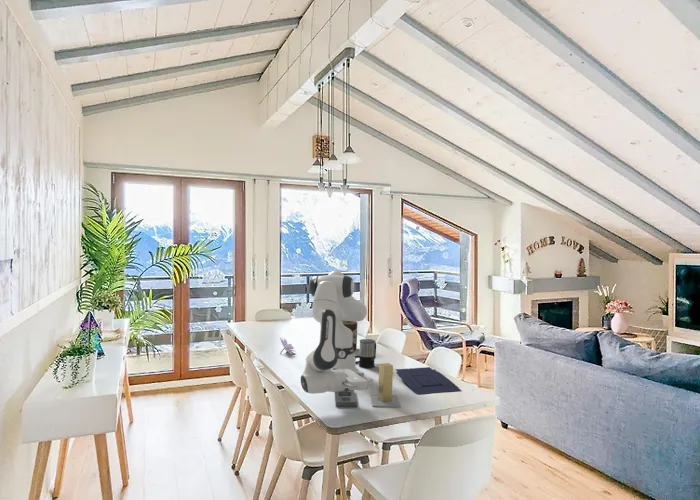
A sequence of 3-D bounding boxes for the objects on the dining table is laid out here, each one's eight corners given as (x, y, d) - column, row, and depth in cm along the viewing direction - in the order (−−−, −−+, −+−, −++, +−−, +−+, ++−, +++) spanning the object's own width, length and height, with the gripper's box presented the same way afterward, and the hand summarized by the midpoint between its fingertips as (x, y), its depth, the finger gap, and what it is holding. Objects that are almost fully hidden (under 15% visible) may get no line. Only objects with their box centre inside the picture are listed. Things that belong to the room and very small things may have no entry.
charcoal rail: (334, 391, 218) (334, 387, 218) (353, 391, 219) (353, 387, 219) (335, 406, 198) (335, 402, 198) (356, 407, 199) (356, 402, 199)
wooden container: (356, 352, 298) (357, 318, 298) (333, 351, 298) (334, 317, 298) (356, 347, 313) (357, 314, 312) (334, 346, 313) (335, 314, 313)
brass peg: (378, 399, 208) (379, 363, 208) (387, 398, 210) (388, 362, 209) (382, 402, 204) (383, 366, 204) (391, 401, 206) (392, 365, 205)
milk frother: (373, 369, 260) (374, 342, 259) (345, 366, 263) (346, 340, 263) (377, 362, 273) (377, 337, 273) (351, 360, 277) (351, 335, 277)
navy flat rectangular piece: (432, 371, 254) (432, 365, 253) (461, 395, 225) (462, 388, 225) (391, 374, 246) (391, 367, 245) (416, 399, 218) (417, 392, 217)
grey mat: (370, 396, 214) (370, 394, 214) (396, 396, 214) (396, 395, 214) (372, 406, 200) (372, 405, 200) (400, 407, 200) (400, 406, 200)
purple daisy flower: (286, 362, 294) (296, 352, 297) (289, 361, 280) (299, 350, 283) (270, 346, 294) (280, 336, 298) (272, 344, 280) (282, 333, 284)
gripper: (348, 379, 188) (378, 376, 193) (330, 367, 207) (358, 364, 212) (348, 395, 188) (378, 391, 193) (330, 381, 207) (358, 378, 212)
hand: (367, 377), depth 203 cm, fingers open, 8 cm apart
